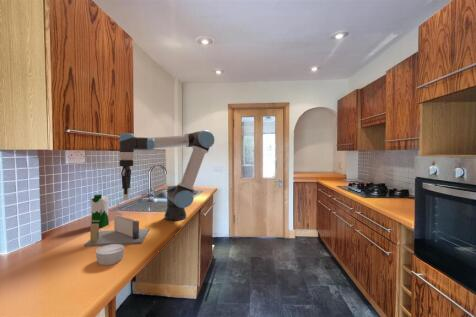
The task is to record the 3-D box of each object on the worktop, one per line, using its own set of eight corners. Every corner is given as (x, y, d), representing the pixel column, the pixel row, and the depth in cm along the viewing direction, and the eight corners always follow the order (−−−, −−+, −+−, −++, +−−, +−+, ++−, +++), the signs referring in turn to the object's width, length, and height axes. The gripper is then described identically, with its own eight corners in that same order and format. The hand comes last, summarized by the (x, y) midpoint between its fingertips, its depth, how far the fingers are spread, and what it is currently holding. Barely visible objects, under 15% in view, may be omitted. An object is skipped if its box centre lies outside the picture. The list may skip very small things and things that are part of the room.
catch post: (98, 242, 126) (98, 223, 125) (96, 244, 123) (96, 224, 123) (92, 243, 125) (92, 223, 125) (90, 244, 123) (90, 225, 123)
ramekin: (113, 267, 99) (113, 255, 99) (88, 265, 101) (88, 253, 101) (129, 256, 110) (129, 244, 110) (107, 254, 112) (107, 243, 112)
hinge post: (139, 238, 132) (139, 220, 132) (138, 240, 129) (138, 222, 129) (133, 239, 131) (133, 220, 131) (132, 241, 128) (132, 222, 128)
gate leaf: (135, 236, 132) (135, 219, 132) (132, 237, 130) (132, 220, 130) (117, 229, 142) (117, 214, 142) (114, 230, 141) (114, 215, 141)
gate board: (149, 230, 146) (149, 228, 146) (141, 243, 125) (141, 241, 125) (100, 232, 142) (100, 230, 141) (84, 246, 121) (84, 244, 121)
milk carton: (88, 227, 150) (88, 195, 149) (98, 223, 159) (98, 193, 158) (102, 228, 149) (101, 195, 148) (111, 224, 158) (111, 193, 158)
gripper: (123, 159, 150) (122, 197, 150) (116, 159, 137) (115, 201, 138) (135, 159, 151) (135, 197, 152) (130, 159, 138) (130, 201, 139)
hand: (126, 199), depth 145 cm, fingers closed
